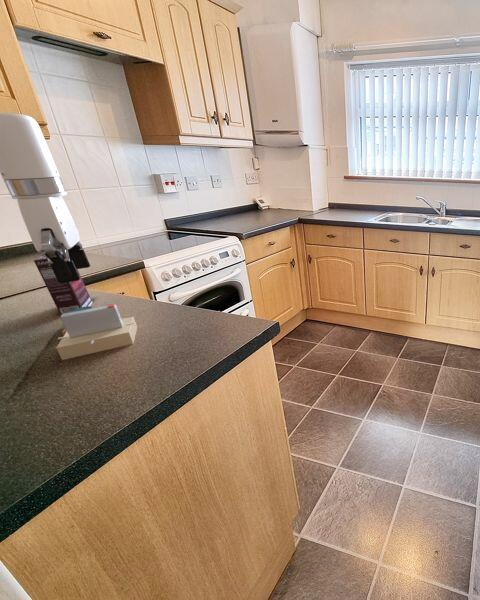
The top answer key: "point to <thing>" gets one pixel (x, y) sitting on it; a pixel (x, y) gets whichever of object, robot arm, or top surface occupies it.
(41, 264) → the supplement box
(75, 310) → the button
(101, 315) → the pale blue rectangular brick
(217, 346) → the top surface
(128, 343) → the low beige pedestal
